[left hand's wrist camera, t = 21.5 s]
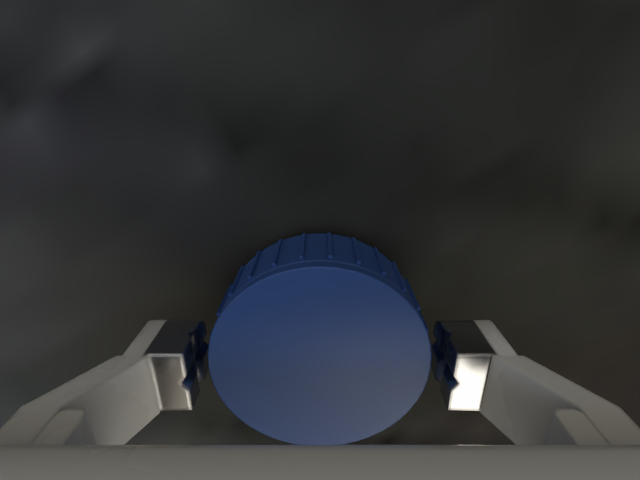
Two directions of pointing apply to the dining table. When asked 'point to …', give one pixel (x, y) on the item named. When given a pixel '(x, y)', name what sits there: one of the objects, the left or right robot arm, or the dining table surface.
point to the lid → (319, 342)
